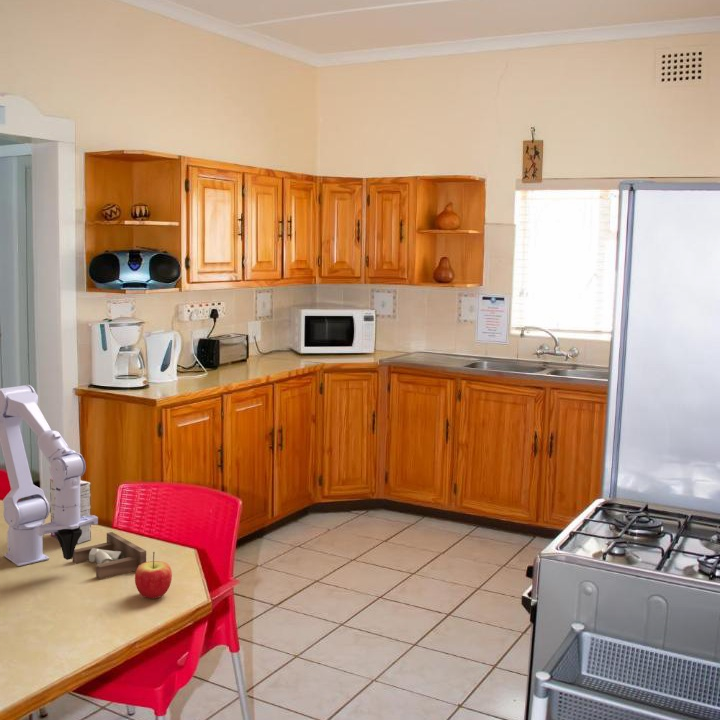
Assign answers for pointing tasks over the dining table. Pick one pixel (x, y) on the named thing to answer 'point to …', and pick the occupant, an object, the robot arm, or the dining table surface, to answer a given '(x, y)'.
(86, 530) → the candy bar box
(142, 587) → the apple
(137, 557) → the fitting jig
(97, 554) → the pipe fitting
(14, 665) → the dining table surface
